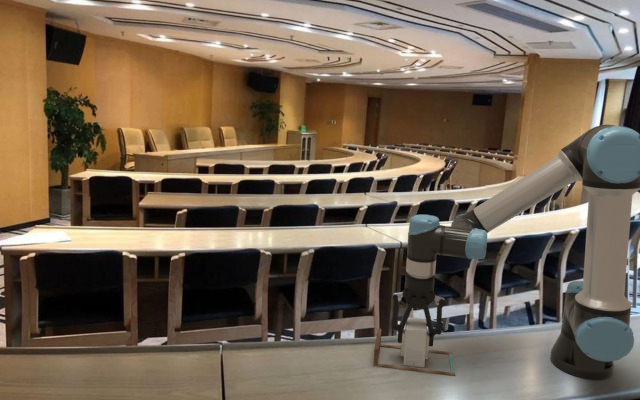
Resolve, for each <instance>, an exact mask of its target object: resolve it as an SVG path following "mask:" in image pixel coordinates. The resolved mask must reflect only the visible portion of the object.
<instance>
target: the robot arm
mask: <svg viewBox="0 0 640 400" xmlns="http://www.w3.org/2000/svg"><path fill="white" fill-rule="evenodd" d="M575 181H576V182H582V184H581V186H582V187H583V188H584V189H585V190H586V191H587V192H588V203H587V220H586V234H585V236H586V237H585V246H584V247H585V248H584V249H585V251H584V264H583V279H582V280H575V281H570V282H569V283H567V287H566V290H565V292H564V293H565V298H564V306H563V313H562V314H563V315H562V320H561V321H562V322H561V327H560V328H561V329H560V334H559V335H558V337H557V338H556V341H555V342H554V344H553V346H552V347H551V351H550V356H549V357H550V358H549V359H550V361H551V363H552V364H553V365H554V366H555V367H556V368H558V369H559V370H561V371H563V372H565V373H566V374H569V375H572V376H574V377H578V378H582V379H588V380H606V379H608V378H611V376H612V375H613V372H614V367H615V366H614V365H615V364H614V362H615V361H619V360H621V359H622V358H624V357H626V356H628V355H629V354H630V353H631V351H632V349H633V348H634V344H635V337H634V332H633V330H632V328H631V326H630V324H631V323H630V322H631V310H632V303H631V301H630V300H629V299H628V298H627V297H626V296H625V289H626V278H627V277H626V275H627V267H628V266H627V263H628V251H629V244H630V243H629V240H630V230H631V229H630V228H631V215H632V204H633V196H634V194H635V193H637V192H638V191H640V133H639V132H638V131H636V130H634V129H632V128H630V127H627V126H622V125H621V126H620V125H619V126H618V125H614V124H600V125H597V126H594V127H592V128H590V129H588V130H587V131H585V132H584V133H582V134H581V135H580V136H578V137H577V138H575V139H574V140H573V141H571V142H570V143H569V144H567V145H565V146H564V147H563V148H561V149H559V151H558V155H557V156H556V157H554V158H552V159H551V160H549V161H547V162H546V163H545V164H543V165H542V166H539V167H538V168H537V169H535V170H534V171H531V172H530V173H529V174H527V175H525V176H524V177H522V178H520V179H519V180H517V181H516V182H514V183H513V184H511V185H509V186H508V187H506V188H504V189H503V190H502V191H500V192H498V193H497V194H495V195H493V196H492V197H490V198H488V199H486V200H485V201H484V202H482V203H481V204H479V205H477V206H476V207H474V208H473V209H471V210H470V211H467V212H466V213H462V214H459V215H457V216H456V217H455V218H453V221H451V224H450V226H448V225H443V224H441V222H440V219H439V217H438V216H435V215H431V214H415V215H413V216H411V218H410V219H409V224H408V225H409V226H408V232H407V252H406V253H407V254H406V264H405V271H406V273H405V276H404V277H405V279H404V280H405V281H404V288H403V290H402V291H401V292H397V291H394V292H393V294H392V300H393V303H394V305H393V312H392V314H393V315H392V323H391V329H392V330H394V331H396V332H397V343H398V344H401V347H402V348H401V349H400V350H401V352H400V356H401V357H404V346H405V330H406V322H407V320H408V317H410V314H411V312H412V310H413V309H419V310H422V311H423V314H424V318H425V319H426V322H427V338H426V352H425V360H428V358H429V352H428V350H430V349H429V348H430V347H433V346H434V340H435V339H434V338H435V336H436V335H437V336H438V335H440V336H441V335H442V325H443V324H442V321H443V320H442V319H443V317H442V316H443V307H444V305H445V302H446V301H445V297H444V296H442V295H441V296H438V295H436V293H435V291H434V290H435V282H436V281H435V278H436V277H435V274H436V270H437V269H436V265H437V255H439V256H447V257H454V258H455V257H456V258H462V259H468V260H482V259H485V257H486V253H487V244H488V233H490V232H492V231H493V230H495V229H497V228H499V227H500V226H501V225H503V224H505V223H506V222H508V221H510V220H512V219H513V218H515V217H517V216H518V215H520V214H522V213H523V212H525V211H527V210H528V209H530V208H532V207H533V206H535V205H537V204H538V203H541V202H543V200H545V199H547V198H548V197H550V196H552V195H554V194H555V193H557V192H559V191H560V190H562V189H564V188H566V187H567V186H569V185H571V184H572V183H574V182H575ZM402 298H404V300H405V302H406V303H407V304H406V307H405V309H404V312H403V314H402V316H401V320H400V322H399V324H398V314H399V308H400V302H401V301H402ZM433 301H434V303H435V305H436V322H435V323H436V324H435V325H436V327H434V325H433V321H432V317H431V313H430V312H431V311H430V308H429V306H430V305H431V303H432V302H433Z"/></svg>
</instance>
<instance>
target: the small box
mask: <svg viewBox="0 0 640 400" xmlns="http://www.w3.org/2000/svg"><path fill="white" fill-rule="evenodd" d="M405 329H406V330H405V346H404V356H403V366H406V367H415V368H425V364H426V359H425V352H426V338H427V332H428V326H427V322H426V318H421V317H413V316H412V317H410V316H409V317H408V320H407V322H406V325H405Z"/></svg>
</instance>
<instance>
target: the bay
mask: <svg viewBox="0 0 640 400" xmlns="http://www.w3.org/2000/svg"><path fill="white" fill-rule="evenodd" d="M381 340H382V328H377V332H376V338H375V342H374V343H375V344H374V353H373V367H379V368H385V369H394V370H402V371H410V372H420V373H425V374H426V373H427V374H433V375H434V374H435V375H442V376H443V375H444V376H449V377H451V376H452V377H456V369H455V362H454V355H453V352H452V351H443V350H435V349H428V353H431V354H439V355H446V356H447V355H448V357H449V358H448V359H449V360H448V361H449V368H450V371H441V370H435V369H434V370H433V369H424V368H419V367H411V366H400V365H393V364H385V363H379V358H380V352H381V351H380V350H381V348H389V349H396V350H401V348H402V345H401V346H400V345H391V344H382V343H381Z"/></svg>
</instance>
